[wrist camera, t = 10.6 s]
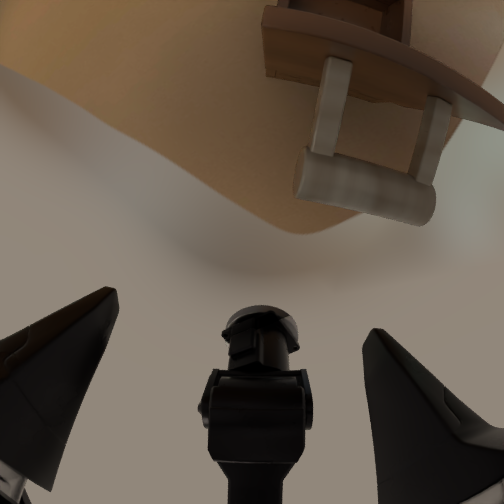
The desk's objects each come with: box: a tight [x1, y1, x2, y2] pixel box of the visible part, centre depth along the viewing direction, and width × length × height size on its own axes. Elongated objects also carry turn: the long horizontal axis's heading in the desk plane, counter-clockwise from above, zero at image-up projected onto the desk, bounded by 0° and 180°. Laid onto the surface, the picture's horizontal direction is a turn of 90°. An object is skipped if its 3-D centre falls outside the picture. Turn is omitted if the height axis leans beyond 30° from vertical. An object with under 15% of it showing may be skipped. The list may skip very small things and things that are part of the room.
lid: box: [261, 5, 504, 226], centre depth 9 cm, size 9×8×5 cm
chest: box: [266, 0, 413, 103], centre depth 12 cm, size 8×8×5 cm
